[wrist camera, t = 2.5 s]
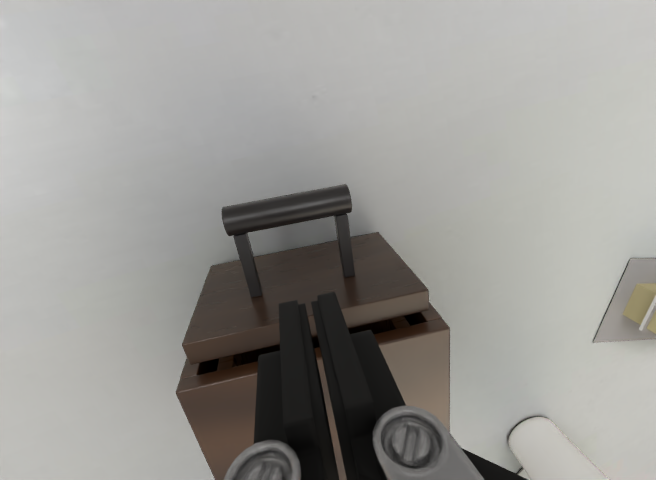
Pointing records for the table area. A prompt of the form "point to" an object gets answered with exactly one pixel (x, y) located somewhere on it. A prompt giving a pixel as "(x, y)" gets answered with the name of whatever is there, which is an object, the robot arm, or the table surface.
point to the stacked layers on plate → (632, 305)
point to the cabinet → (241, 383)
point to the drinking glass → (550, 453)
